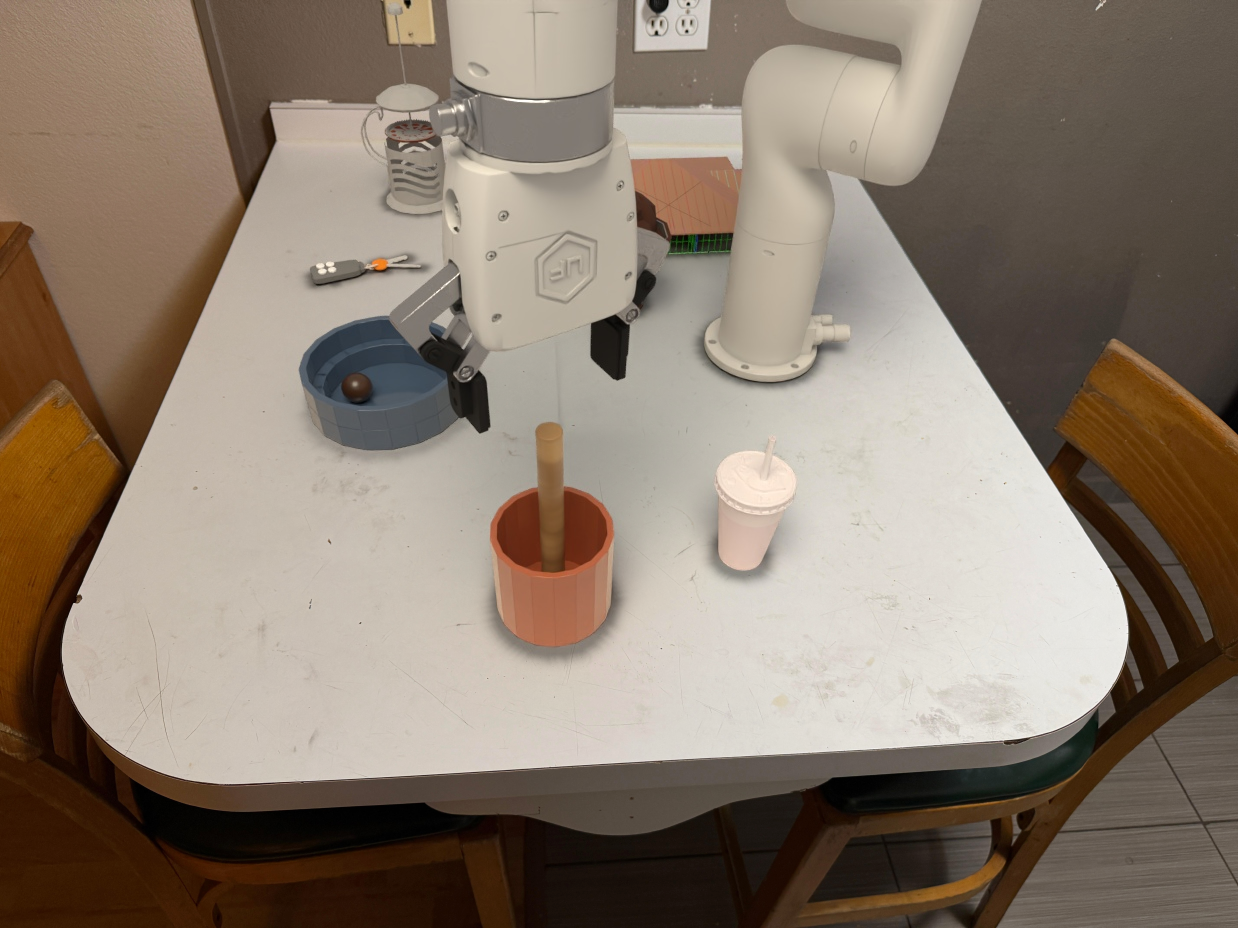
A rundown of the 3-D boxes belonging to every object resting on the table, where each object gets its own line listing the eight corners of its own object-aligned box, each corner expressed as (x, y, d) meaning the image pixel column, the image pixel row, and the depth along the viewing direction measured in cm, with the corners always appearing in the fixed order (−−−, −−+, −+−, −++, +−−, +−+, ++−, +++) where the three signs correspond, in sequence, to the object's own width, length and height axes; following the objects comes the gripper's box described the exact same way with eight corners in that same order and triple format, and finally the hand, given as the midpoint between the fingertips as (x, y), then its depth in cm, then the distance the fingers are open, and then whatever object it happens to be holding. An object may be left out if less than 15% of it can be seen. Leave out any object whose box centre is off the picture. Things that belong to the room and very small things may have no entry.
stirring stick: (565, 589, 66) (562, 421, 54) (565, 607, 65) (563, 439, 52) (542, 590, 66) (535, 421, 54) (543, 608, 65) (535, 440, 52)
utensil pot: (605, 557, 69) (608, 482, 63) (614, 648, 63) (618, 575, 57) (499, 561, 69) (492, 486, 62) (496, 654, 62) (488, 581, 56)
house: (786, 252, 109) (797, 194, 103) (538, 263, 104) (536, 203, 99) (742, 177, 125) (749, 123, 119) (526, 184, 120) (523, 128, 115)
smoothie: (757, 598, 67) (788, 477, 57) (689, 564, 69) (707, 443, 60) (788, 548, 71) (822, 427, 61) (723, 518, 73) (745, 397, 64)
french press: (450, 215, 113) (427, 16, 95) (365, 212, 112) (327, 12, 95) (461, 184, 120) (441, -7, 102) (381, 181, 119) (348, -11, 102)
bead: (376, 389, 84) (371, 366, 82) (373, 408, 82) (367, 384, 79) (347, 390, 83) (341, 366, 81) (342, 409, 81) (336, 385, 79)
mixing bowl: (470, 356, 89) (466, 314, 86) (463, 452, 78) (457, 408, 74) (326, 359, 88) (315, 316, 84) (298, 457, 77) (283, 412, 73)
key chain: (315, 288, 98) (312, 277, 97) (310, 273, 100) (307, 262, 99) (421, 269, 102) (420, 258, 101) (414, 255, 105) (413, 244, 104)
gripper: (398, 180, 33) (442, 480, 45) (723, 107, 41) (689, 380, 52) (331, 118, 38) (388, 406, 49) (636, 63, 45) (622, 324, 57)
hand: (543, 393), depth 51 cm, fingers open, 9 cm apart
